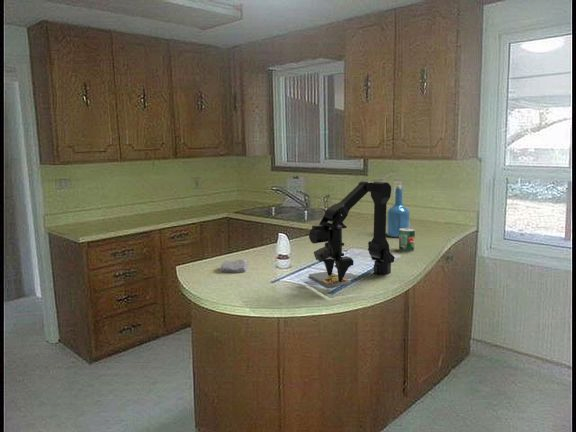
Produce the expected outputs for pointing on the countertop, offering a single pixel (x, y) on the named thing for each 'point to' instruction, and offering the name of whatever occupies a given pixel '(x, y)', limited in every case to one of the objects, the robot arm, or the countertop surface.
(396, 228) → the wine bottle
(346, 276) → the tab
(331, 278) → the brass clip
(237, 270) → the stone block
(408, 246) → the canned tomato
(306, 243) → the countertop surface
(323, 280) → the rail plate
